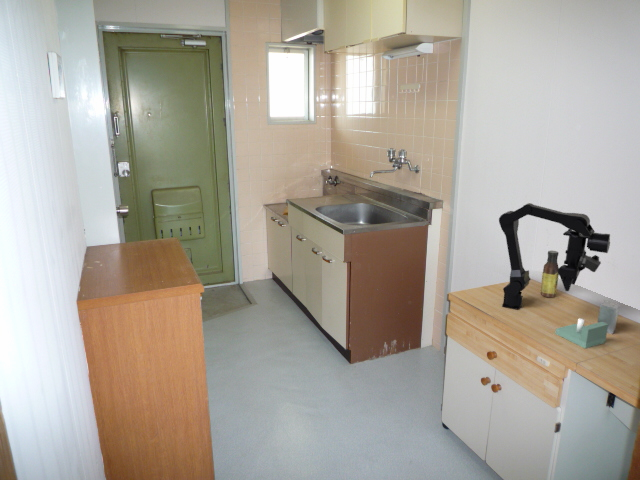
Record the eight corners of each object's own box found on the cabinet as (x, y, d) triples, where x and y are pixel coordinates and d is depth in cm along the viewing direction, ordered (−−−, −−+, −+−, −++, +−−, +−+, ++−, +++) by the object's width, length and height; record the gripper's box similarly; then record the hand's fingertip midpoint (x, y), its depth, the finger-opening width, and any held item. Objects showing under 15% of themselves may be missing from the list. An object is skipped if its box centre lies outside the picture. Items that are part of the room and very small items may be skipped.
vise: (555, 333, 170) (557, 315, 168) (574, 328, 174) (577, 311, 172) (585, 348, 159) (588, 329, 157) (605, 342, 163) (608, 324, 161)
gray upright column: (596, 330, 173) (600, 304, 170) (599, 325, 176) (603, 300, 174) (612, 334, 169) (617, 308, 167) (615, 329, 173) (619, 304, 170)
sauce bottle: (557, 298, 201) (564, 254, 196) (541, 297, 202) (547, 253, 197) (553, 293, 207) (559, 250, 202) (538, 292, 209) (544, 249, 203)
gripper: (595, 258, 162) (588, 300, 166) (605, 246, 176) (598, 285, 180) (560, 252, 169) (554, 292, 173) (572, 241, 183) (567, 279, 187)
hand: (570, 287), depth 178 cm, fingers open, 9 cm apart
